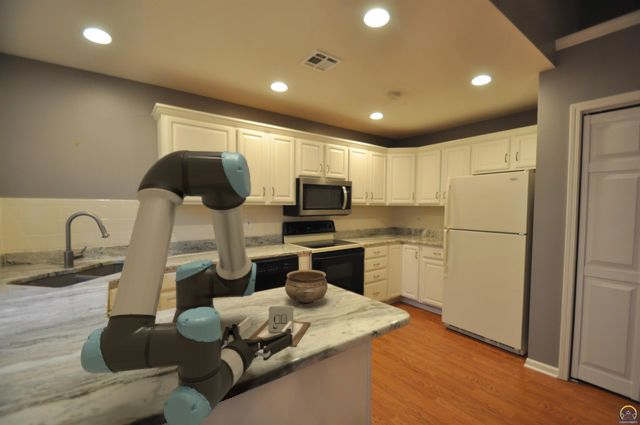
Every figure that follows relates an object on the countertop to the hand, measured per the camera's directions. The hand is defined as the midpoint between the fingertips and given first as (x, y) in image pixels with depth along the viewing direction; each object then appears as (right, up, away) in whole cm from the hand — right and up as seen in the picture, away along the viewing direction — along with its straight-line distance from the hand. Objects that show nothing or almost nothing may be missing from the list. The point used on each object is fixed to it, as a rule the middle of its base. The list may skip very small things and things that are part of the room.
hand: (270, 323), depth 80 cm
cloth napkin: (+2, -7, +9) cm, 11 cm away
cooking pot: (+9, -6, +37) cm, 39 cm away
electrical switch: (+2, -6, +9) cm, 11 cm away
